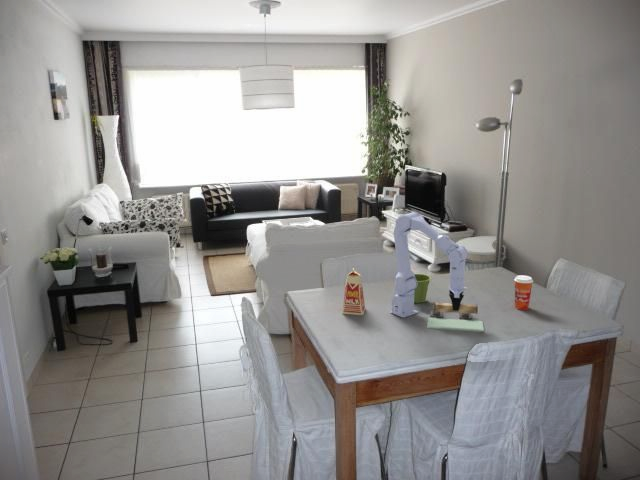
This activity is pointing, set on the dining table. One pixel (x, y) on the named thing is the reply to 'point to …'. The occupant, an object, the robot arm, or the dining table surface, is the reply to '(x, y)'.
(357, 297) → the milk carton
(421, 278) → the plant pot
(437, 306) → the rail
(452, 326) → the mat
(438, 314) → the standards
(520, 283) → the paper cup
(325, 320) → the dining table surface
